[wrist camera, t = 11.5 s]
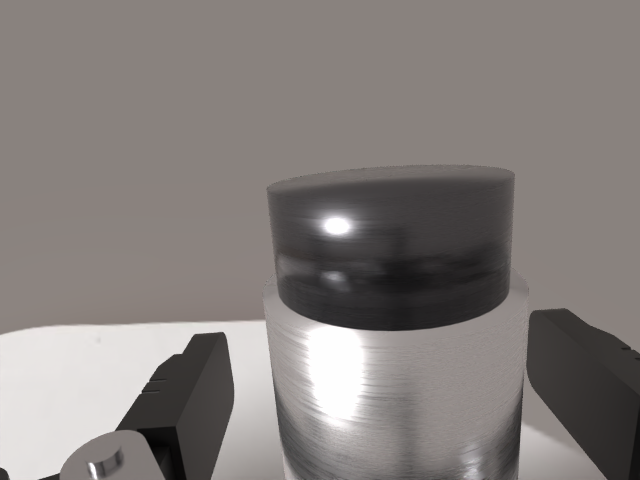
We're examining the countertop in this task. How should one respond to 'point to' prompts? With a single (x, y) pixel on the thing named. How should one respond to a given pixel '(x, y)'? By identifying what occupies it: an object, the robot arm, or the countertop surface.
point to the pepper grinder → (397, 324)
